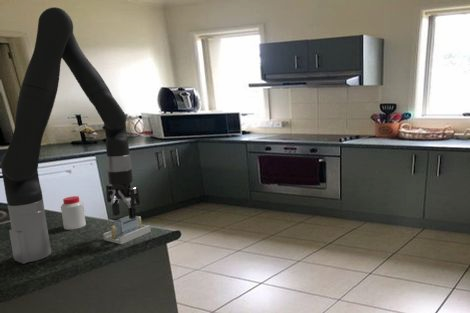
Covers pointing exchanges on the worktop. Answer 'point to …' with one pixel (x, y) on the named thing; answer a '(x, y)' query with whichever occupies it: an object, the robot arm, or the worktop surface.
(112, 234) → the white peg stand
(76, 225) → the pill bottle
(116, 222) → the block
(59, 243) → the worktop surface
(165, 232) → the worktop surface
